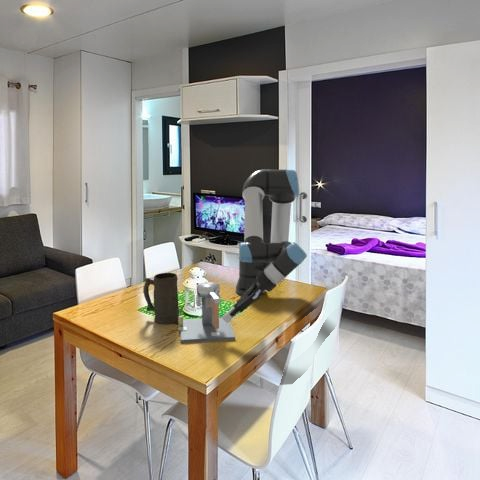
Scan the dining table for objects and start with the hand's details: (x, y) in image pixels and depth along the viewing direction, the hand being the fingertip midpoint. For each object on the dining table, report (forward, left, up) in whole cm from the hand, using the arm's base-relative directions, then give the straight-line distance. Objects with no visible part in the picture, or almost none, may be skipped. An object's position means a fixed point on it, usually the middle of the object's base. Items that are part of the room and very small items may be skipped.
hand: (224, 320), depth 154 cm
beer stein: (+24, -22, -7) cm, 33 cm away
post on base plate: (+6, -8, -7) cm, 12 cm away
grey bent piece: (+5, -7, -3) cm, 9 cm away
